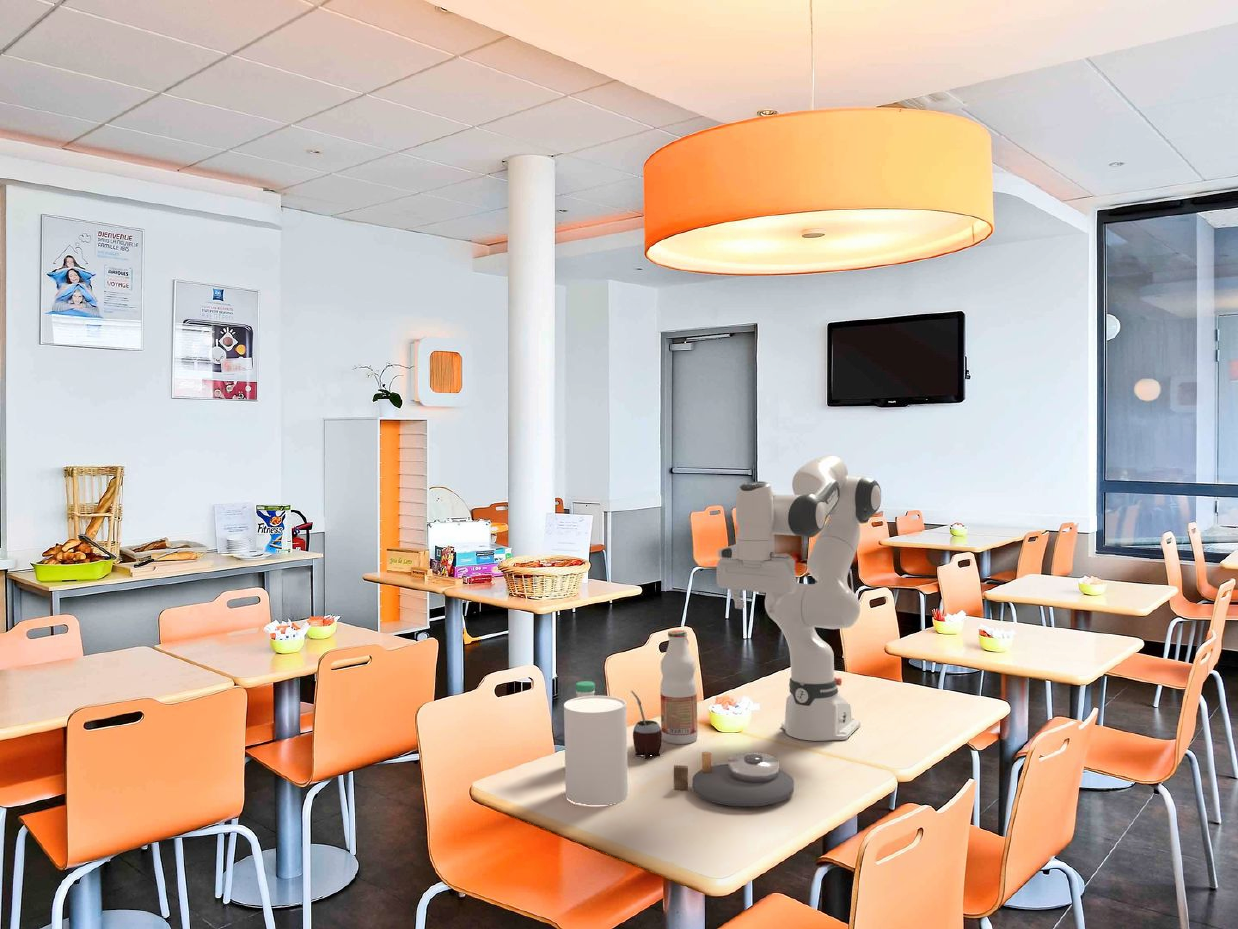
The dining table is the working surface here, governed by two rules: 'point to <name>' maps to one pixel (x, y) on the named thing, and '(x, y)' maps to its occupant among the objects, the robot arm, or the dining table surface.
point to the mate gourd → (646, 736)
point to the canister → (596, 750)
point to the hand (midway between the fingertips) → (756, 610)
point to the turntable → (738, 786)
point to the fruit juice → (678, 692)
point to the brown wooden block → (680, 778)
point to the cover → (753, 768)
